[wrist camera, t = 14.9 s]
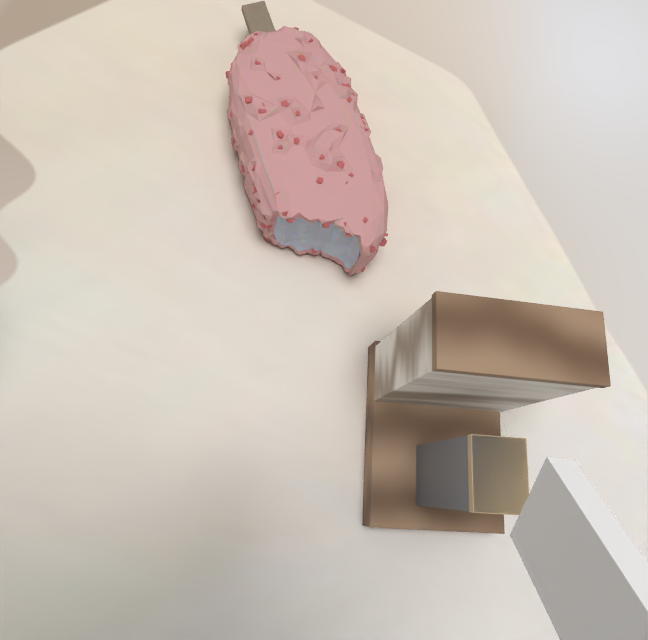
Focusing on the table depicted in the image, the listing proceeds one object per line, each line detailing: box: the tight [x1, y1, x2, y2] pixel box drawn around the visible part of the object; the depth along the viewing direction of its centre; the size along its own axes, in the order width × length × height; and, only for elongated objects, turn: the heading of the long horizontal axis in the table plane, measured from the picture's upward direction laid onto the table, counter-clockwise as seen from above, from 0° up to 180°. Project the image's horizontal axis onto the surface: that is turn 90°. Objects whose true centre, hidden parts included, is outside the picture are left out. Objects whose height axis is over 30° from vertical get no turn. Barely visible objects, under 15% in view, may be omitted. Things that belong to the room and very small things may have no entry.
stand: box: [363, 291, 611, 534], centre depth 42 cm, size 16×12×17 cm
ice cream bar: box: [226, 1, 388, 276], centre depth 52 cm, size 13×9×30 cm
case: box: [416, 434, 529, 515], centre depth 42 cm, size 5×4×11 cm
